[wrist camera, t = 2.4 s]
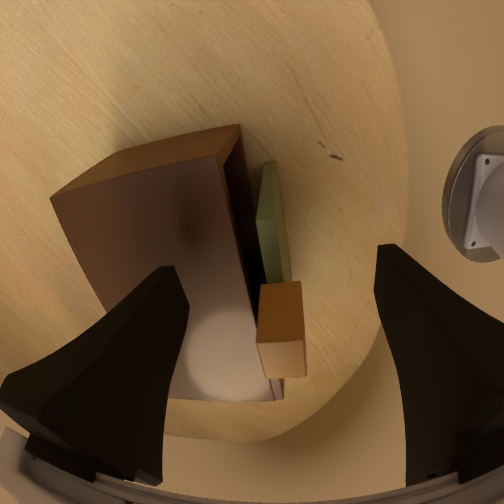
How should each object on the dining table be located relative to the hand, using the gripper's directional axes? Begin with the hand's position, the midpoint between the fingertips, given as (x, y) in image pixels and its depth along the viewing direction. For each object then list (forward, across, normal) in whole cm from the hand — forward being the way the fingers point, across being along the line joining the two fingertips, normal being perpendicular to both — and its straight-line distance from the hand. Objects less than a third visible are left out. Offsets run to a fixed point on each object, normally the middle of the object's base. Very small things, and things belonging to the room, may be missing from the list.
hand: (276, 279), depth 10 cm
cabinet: (+8, +5, +4) cm, 10 cm away
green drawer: (+8, 0, +2) cm, 8 cm away
